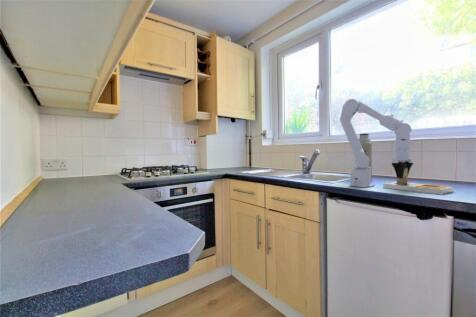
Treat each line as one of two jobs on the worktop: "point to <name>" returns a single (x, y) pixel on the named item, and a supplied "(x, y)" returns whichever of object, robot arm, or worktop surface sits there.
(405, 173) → the peg
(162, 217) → the worktop surface
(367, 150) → the thermos bottle
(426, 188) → the rail plate
